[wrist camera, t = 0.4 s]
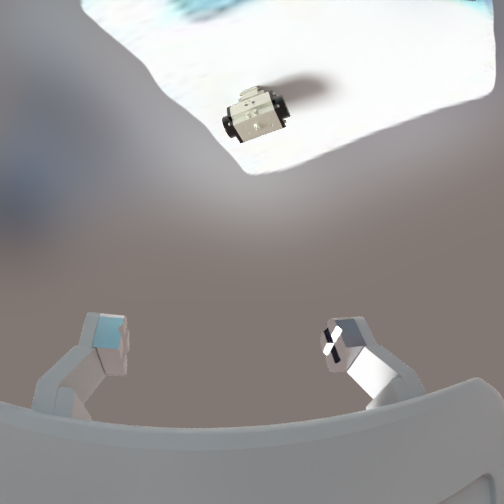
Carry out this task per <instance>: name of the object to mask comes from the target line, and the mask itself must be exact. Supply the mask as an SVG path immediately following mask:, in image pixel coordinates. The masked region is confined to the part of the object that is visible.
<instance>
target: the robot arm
mask: <svg viewBox="0 0 504 504" xmlns="http://www.w3.org/2000/svg"><path fill="white" fill-rule="evenodd" d="M126 326H127V319H126V316H121V315H112V314H102V313H92V312H91V313H90V312H89V313H88V314H87V316H86V319H85V323H84V326H83V330H82V334H81V337H80V341H79V346H74V347H73V348H72V349H71V350H70V351H69V352H67V354H65V356H63V357H62V358H61V359H60V360H59V361H58V362H57V363H56V364H55V365H54V366H53V367H52V368H51V369H50V370H49V371H47V372H46V373H45V374H44V375H43V376H42V377H41V378H40V379H39V380H38V382H37V386H36V390H35V394H34V399H33V403H32V407H31V409H27V408H23V407H19V406H15V405H12V404H8V403H4V402H1V401H0V504H504V400H503V399H502V397H501V395H500V394H499V392H498V391H497V390H495V388H493V387H492V386H491V385H489V384H488V383H487V382H485V381H484V380H482V379H481V378H472V379H469V380H467V381H464V382H461V383H459V384H456V385H453V386H450V387H447V388H445V389H441V390H439V391H435V392H433V393H429V394H427V393H426V391H425V389H424V387H423V385H422V383H421V381H420V379H419V377H418V375H417V373H416V372H415V371H414V370H412V369H411V368H410V367H408V366H407V365H406V364H404V363H403V362H402V361H400V360H399V359H398V358H397V357H395V356H394V355H393V354H391V353H390V352H389V351H387V350H386V349H385V348H383V347H382V346H381V345H377V343H376V342H375V339H374V337H373V335H372V333H371V331H370V329H369V327H368V325H367V323H366V321H365V319H364V318H363V317H346V318H345V317H344V318H331V319H330V320H329V321H328V323H327V326H328V328H327V329H325V330H324V331H323V333H322V335H321V340H320V344H321V349H322V352H323V353H325V354H326V355H327V358H326V363H327V366H328V369H329V372H330V373H333V372H343V371H347V373H348V374H349V375H350V376H351V377H352V378H353V379H354V380H355V381H356V382H357V383H358V384H359V385H360V386H361V387H362V388H363V389H364V390H365V391H366V392H367V393H368V394H369V395H370V396H371V397H372V398H373V400H372V401H371V402H370V403H369V404H368V405H367V407H366V410H365V411H360V412H355V413H350V414H345V415H339V416H334V417H328V418H322V419H315V420H309V421H301V422H293V423H284V424H274V425H263V426H250V427H232V428H163V427H144V426H131V425H121V424H112V423H102V422H96V421H92V418H91V417H90V415H89V413H88V412H87V410H86V409H85V407H84V405H83V404H84V403H85V402H86V400H87V399H88V398H89V396H90V395H91V394H92V393H93V391H94V390H95V389H96V388H97V386H98V385H99V384H100V382H101V381H102V380H103V379H104V377H105V375H118V376H126V371H127V362H128V361H127V357H126V354H128V353H129V343H130V337H129V330H128V329H127V328H126Z"/></svg>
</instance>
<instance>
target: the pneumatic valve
mask: <svg viewBox="0 0 504 504" xmlns="http://www.w3.org/2000/svg"><path fill="white" fill-rule="evenodd" d="M258 90H259V88H258V87H253V88H251V89H248V90H246V91H243V92H241V94H240V96H242V98H240V99H238V101H239V103H237V104H235V105H232V106H230V107H228V108H227V116H225V117H223V118H222V121H223V125H224V128H225V130H226V132H227V134H228V135H229V137H230V138H233V137H237V139H238V140H239V141H240V143H243V142H245V141H248V140H251V139H253V138H256V137H259V136H261V135H264V134H267V133H270V132H273V131H276V130H278V129H281V128H284V127H286V126H285V123H286V120H284V119H285V118H288V117H290V113H289V110H288V107H287V105H286V102H285V100H284V98H283V96H282V95H280V96H277V97H275V96H276V94H275V93H273V92H272V90H271V91H269V92H266V93H265V92H264V90H261V91H258Z"/></svg>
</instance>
